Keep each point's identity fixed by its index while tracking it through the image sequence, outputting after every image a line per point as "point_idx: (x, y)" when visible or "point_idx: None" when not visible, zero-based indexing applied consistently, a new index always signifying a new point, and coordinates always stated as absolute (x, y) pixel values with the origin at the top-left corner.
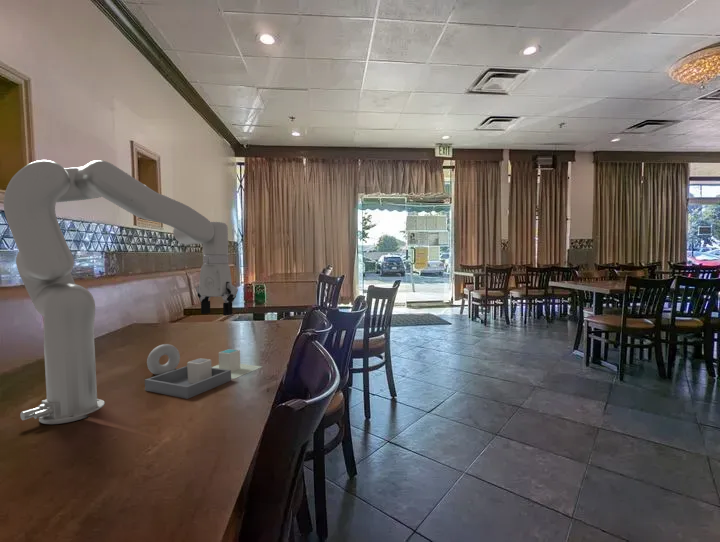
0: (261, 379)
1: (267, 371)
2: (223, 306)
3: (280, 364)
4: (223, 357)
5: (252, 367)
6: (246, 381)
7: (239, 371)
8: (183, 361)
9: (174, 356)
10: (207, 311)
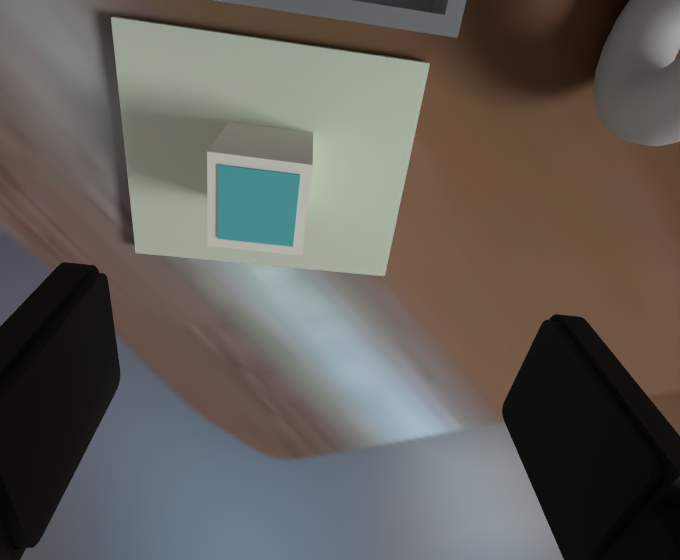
0: (10, 103)
1: (95, 228)
2: (8, 361)
3: (123, 330)
4: (268, 149)
5: (176, 229)
6: (60, 48)
7: (189, 151)
8: (646, 264)
9: (637, 82)
10: (525, 392)
